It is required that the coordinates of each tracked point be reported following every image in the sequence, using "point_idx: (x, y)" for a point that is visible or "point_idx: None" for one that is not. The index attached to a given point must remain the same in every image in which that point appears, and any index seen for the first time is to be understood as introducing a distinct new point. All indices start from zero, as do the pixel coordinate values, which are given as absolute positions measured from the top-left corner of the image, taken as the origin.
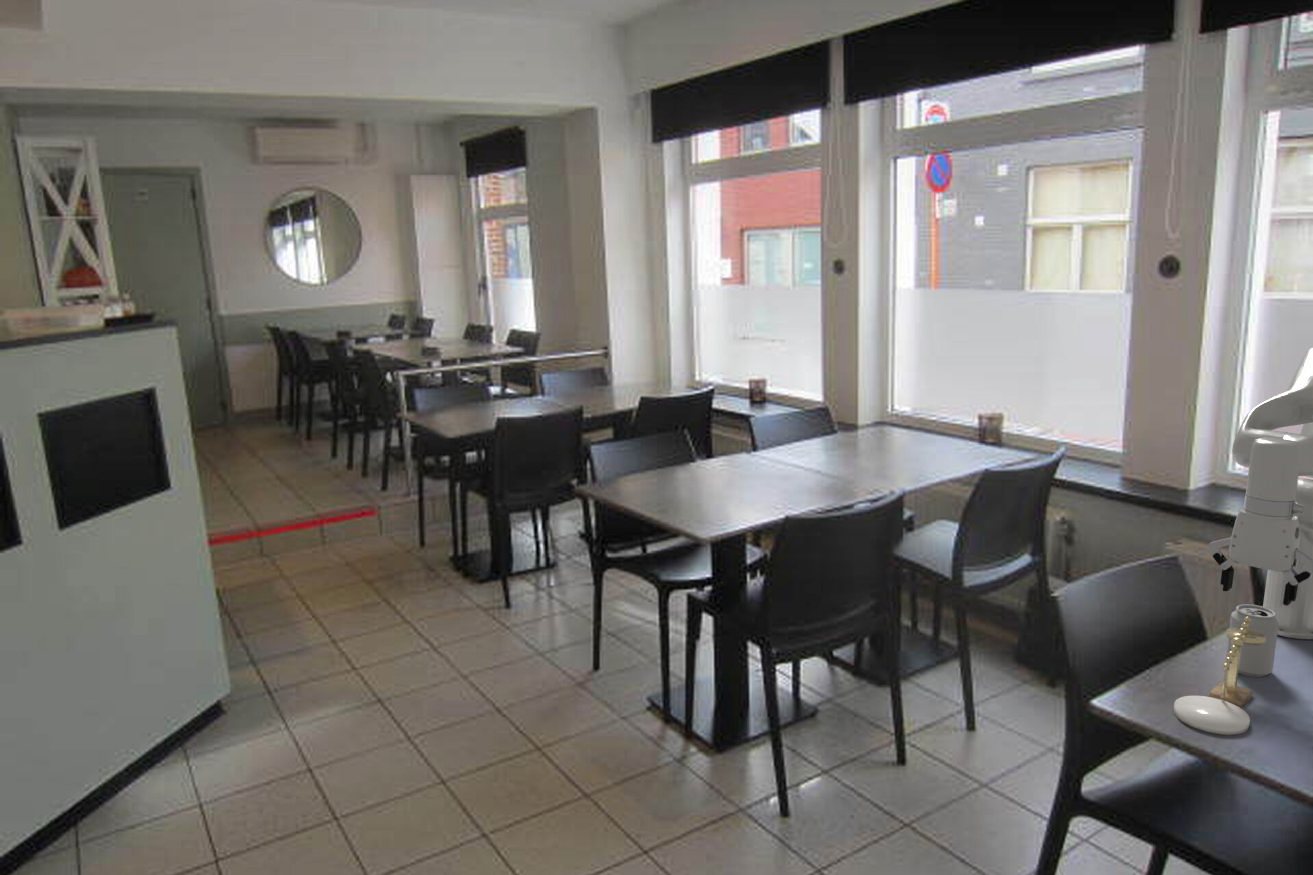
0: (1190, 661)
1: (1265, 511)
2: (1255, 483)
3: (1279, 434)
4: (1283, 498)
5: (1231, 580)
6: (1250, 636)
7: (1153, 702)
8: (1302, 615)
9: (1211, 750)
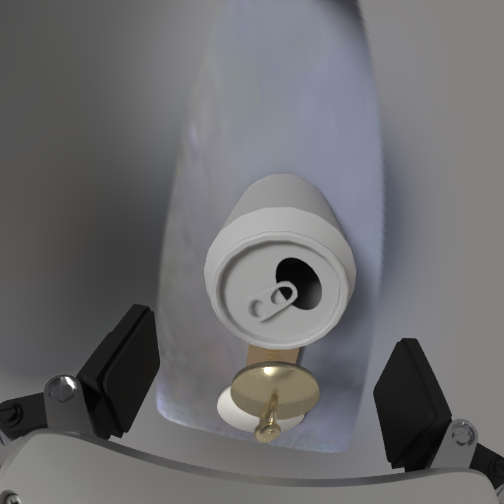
0: (179, 248)
1: None
2: None
3: None
4: None
5: (138, 357)
6: (285, 400)
7: (195, 399)
8: None
9: (275, 444)
